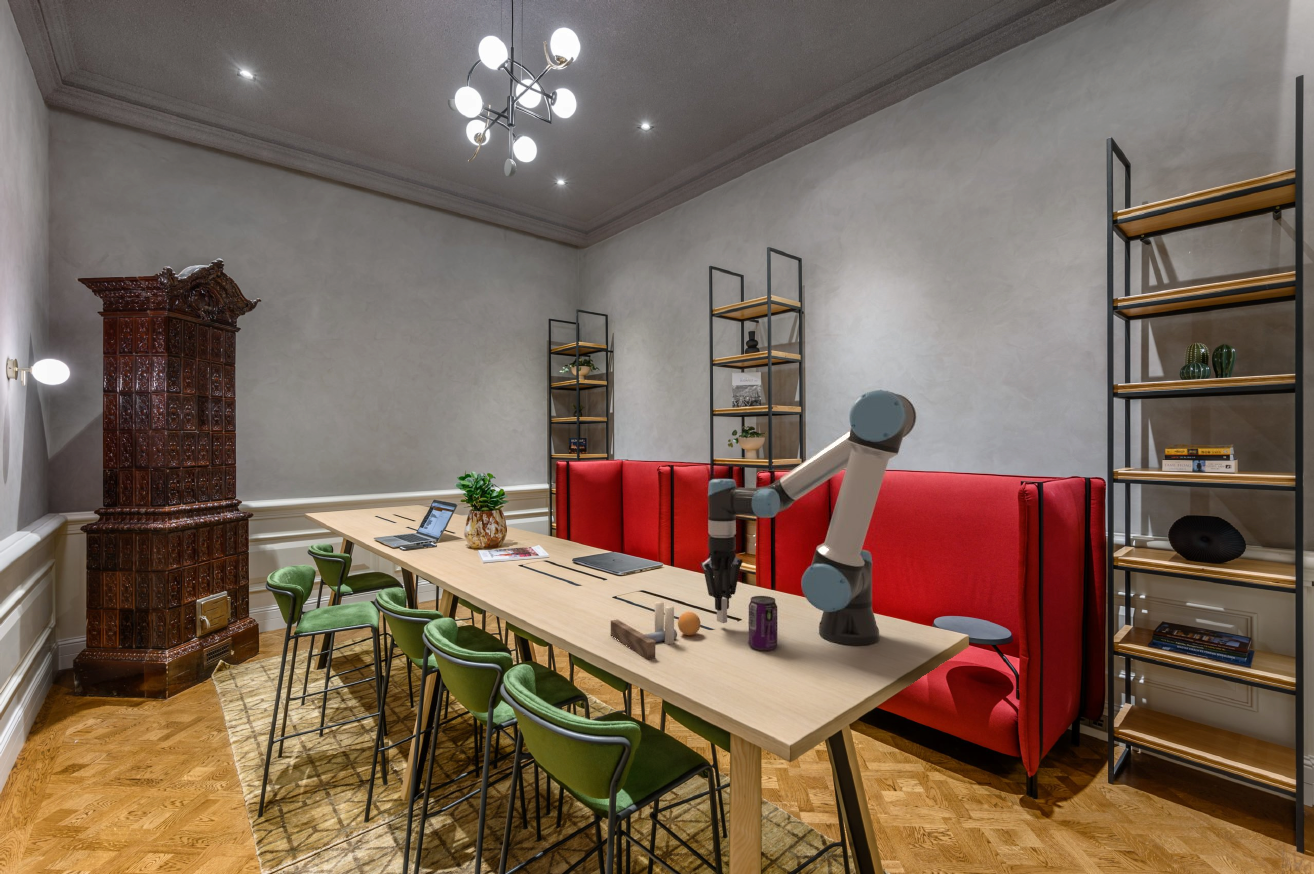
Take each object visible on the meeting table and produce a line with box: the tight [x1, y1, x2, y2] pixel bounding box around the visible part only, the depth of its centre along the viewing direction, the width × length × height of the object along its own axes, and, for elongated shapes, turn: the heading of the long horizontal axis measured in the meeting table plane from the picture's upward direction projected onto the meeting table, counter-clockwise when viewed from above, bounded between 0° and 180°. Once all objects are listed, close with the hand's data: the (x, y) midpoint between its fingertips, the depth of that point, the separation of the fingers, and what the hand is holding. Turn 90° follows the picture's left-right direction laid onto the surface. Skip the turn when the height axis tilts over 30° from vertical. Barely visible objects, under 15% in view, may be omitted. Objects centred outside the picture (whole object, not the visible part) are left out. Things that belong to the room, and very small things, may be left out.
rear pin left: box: [664, 605, 675, 645], centre depth 150 cm, size 2×2×9 cm
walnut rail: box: [610, 618, 656, 661], centre depth 148 cm, size 20×2×4 cm, turn 30°
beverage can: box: [748, 595, 779, 651], centre depth 147 cm, size 7×7×12 cm
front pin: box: [644, 628, 678, 643], centre depth 152 cm, size 2×2×9 cm
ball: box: [677, 611, 701, 636], centre depth 157 cm, size 6×6×6 cm
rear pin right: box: [654, 601, 665, 633], centre depth 155 cm, size 2×2×9 cm
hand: (722, 621), depth 162 cm, fingers closed
